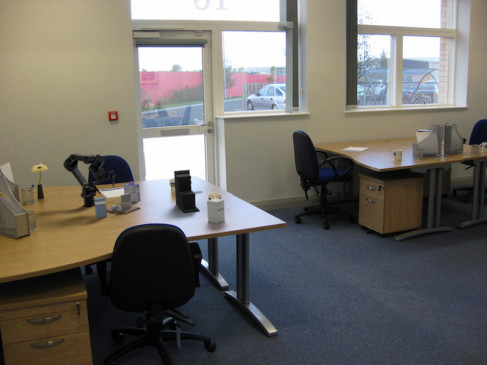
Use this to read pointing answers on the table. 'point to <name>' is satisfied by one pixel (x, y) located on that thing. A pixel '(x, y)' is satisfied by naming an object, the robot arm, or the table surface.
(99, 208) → the book
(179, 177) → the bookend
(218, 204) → the supplement box
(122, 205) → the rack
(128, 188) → the ink cartridge box
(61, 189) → the table surface
